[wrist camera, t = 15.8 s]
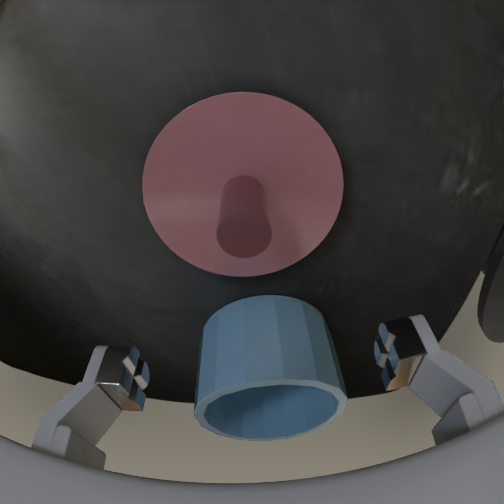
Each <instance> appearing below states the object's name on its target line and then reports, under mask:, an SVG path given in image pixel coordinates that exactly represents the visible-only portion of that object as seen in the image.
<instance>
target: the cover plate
mask: <svg viewBox="0 0 504 504" xmlns="http://www.w3.org/2000/svg"><path fill="white" fill-rule="evenodd" d="M343 186H344V183H343V171H342V166H341V161H340V158H339V155H338V153H337V150H336V148H335V146H334V144H333V142H332V140H331V138H330V137H329V135H328V134H327V133H326V131H325V130H324V129H323V127H322V126H321V125H320V124H319V123H318V122H317V121H316V120H315V119H314V118H313V117H312V116H311V115H309V114H308V113H307V112H305V111H304V110H302V109H301V108H300V107H298V106H296V105H294V104H292V103H290V102H289V101H287V100H284V99H281V98H279V97H276V96H273V95H269V94H264V93H259V92H247V91H239V92H227V93H223V94H218V95H214V96H211V97H208V98H205V99H203V100H200V101H198V102H196V103H194V104H193V105H191V106H189V107H187V108H186V109H184V110H183V111H182V112H180V113H179V114H178V115H176V116H175V117H174V118H173V119H172V120H171V121H170V122H169V123H168V124H167V125H166V126H165V127H164V128H163V129H162V131H161V132H160V133H159V135H158V136H157V137H156V139H155V141H154V143H153V145H152V146H151V148H150V150H149V153H148V156H147V159H146V161H145V166H144V171H143V180H142V191H143V200H144V204H145V209H146V212H147V215H148V217H149V220H150V222H151V224H152V226H153V228H154V229H155V231H156V233H157V234H158V235H159V237H160V238H161V240H162V241H163V242H164V243H165V244H166V245H167V246H168V247H169V248H170V249H171V250H172V251H173V252H174V253H175V254H177V255H178V256H179V257H181V258H182V259H184V260H185V261H187V262H188V263H190V264H192V265H194V266H196V267H198V268H200V269H203V270H206V271H208V272H212V273H216V274H220V275H226V276H236V277H248V276H258V275H264V274H269V273H272V272H276V271H279V270H281V269H284V268H286V267H288V266H290V265H292V264H294V263H296V262H298V261H299V260H301V259H302V258H304V257H305V256H307V255H308V254H309V253H310V252H311V251H313V250H314V249H315V248H316V247H317V246H318V245H319V244H320V243H321V242H322V240H323V239H324V238H325V237H326V235H327V234H328V232H329V231H330V230H331V228H332V226H333V224H334V222H335V220H336V218H337V215H338V213H339V210H340V206H341V202H342V197H343Z"/></svg>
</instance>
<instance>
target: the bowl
mask: <svg viewBox="0 0 504 504" xmlns="http://www.w3.org/2000/svg"><path fill="white" fill-rule="evenodd" d="M347 401H348V397H347V393H346V389H345V385H344V381H343V377H342V373H341V369H340V365H339V362H338V358H337V354H336V351H335V347H334V343H333V340H332V336H331V333H330V329H329V327H328V325H327V323H326V320H325V318H324V317H323V315H322V314H321V313H320V312H319V311H318V310H317V309H316V308H315V307H313V306H312V305H310V304H309V303H307V302H304V301H302V300H299V299H296V298H292V297H288V296H281V295H260V296H253V297H248V298H244V299H240V300H238V301H235V302H232V303H230V304H228V305H226V306H224V307H223V308H221V309H219V310H218V311H217V312H216V313H214V314H213V315H212V316H211V317H210V318H209V320H208V321H207V322H206V324H205V326H204V328H203V331H202V338H201V342H200V349H199V360H198V370H197V382H196V393H195V406H194V416H195V417H196V419H197V420H198V422H199V423H200V424H201V426H202V427H204V428H206V429H208V430H210V431H212V432H214V433H216V434H218V435H221V436H225V437H229V438H234V439H238V440H249V441H272V440H281V439H288V438H293V437H296V436H300V435H304V434H308V433H311V432H313V431H316V430H318V429H320V428H322V427H324V426H326V425H328V424H330V423H332V422H333V421H334V420H335V419H336V418H337V417H339V416H340V415H341V414H342V413H343V412H344V411H345V408H346V404H347Z"/></svg>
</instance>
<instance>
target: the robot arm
mask: <svg viewBox="0 0 504 504" xmlns="http://www.w3.org/2000/svg"><path fill="white" fill-rule="evenodd" d="M378 331H379V334H380V335H379V336H378V337H377V338H376V340H375V344H374V353H375V358H376V361H377V364H378V365H379V366H380V367H382V368H383V371H382V374H381V376H382V379H383V382H384V385H385V389H386V391H388V390H393V389H397V388H401V387H405V386H408V387H409V388H410V389H411V390H412V391H413V392H414V393H415V394H416V395H417V396H419V397H420V398H421V399H422V400H423V401H424V402H425V403H426V404H427V405H428V406H429V407H430V408H431V409H433V410H434V411H435V412H436V413H437V414H438V415H439V416H440V417H441V418H442V419H441V420H440V421H439V422H438V423H437V424H436V425H435V426H434V428H433V430H432V434H433V437H434V441H435V444H436V446H434V447H431V448H428V449H426V450H423V451H420V452H417V453H414V454H411V455H408V456H405V457H402V458H398V459H395V460H392V461H388V462H385V463H381V464H377V465H374V466H370V467H365V468H361V469H356V470H352V471H348V472H342V473H337V474H331V475H326V476H320V477H313V478H306V479H298V480H288V481H277V482H262V483H231V484H230V483H229V484H228V483H195V482H181V481H169V480H160V479H153V478H145V477H139V476H132V475H127V474H121V473H117V472H112V471H107V470H104V465H105V459H106V455H105V453H104V452H103V451H101V450H100V449H98V448H97V447H95V445H96V444H97V443H98V442H99V440H100V439H101V438H102V436H103V435H104V434H105V433H106V431H107V430H108V429H109V428H110V426H111V425H112V424H113V423H114V421H115V420H116V419H117V417H118V416H119V415H120V414H121V412H122V410H129V411H143V406H144V401H145V397H146V395H145V393H144V391H143V390H144V388H145V387H146V386H147V385H148V382H149V369H148V366H147V364H146V362H145V360H143V359H141V358H140V357H139V354H140V352H139V351H138V349H137V348H136V347H121V346H97V347H96V348H95V349H94V351H93V354H92V357H91V359H90V362H89V365H88V367H87V370H86V373H85V376H84V379H83V381H82V382H79V383H78V384H76V385H75V386H74V387H73V388H72V389H71V390H70V391H69V392H68V393H67V394H66V395H65V396H64V397H63V398H61V399H60V401H58V402H57V403H56V404H55V405H54V406H53V407H52V408H51V409H50V410H49V411H48V412H47V413H46V414H45V415H44V416H42V418H40V421H39V424H38V427H37V430H36V434H35V438H34V440H33V444H32V447H31V448H30V447H27V446H24V445H22V444H20V443H17V442H15V441H13V440H10V439H8V438H6V437H4V436H1V435H0V504H504V405H503V402H502V400H501V398H500V396H499V393H498V391H497V389H496V387H495V385H494V383H493V381H491V380H490V379H488V378H487V377H485V376H484V375H482V374H481V373H479V372H478V371H477V370H475V369H474V368H472V367H471V366H469V365H468V364H466V363H465V362H463V361H461V360H460V359H459V358H457V357H456V356H454V355H453V354H451V353H450V352H448V351H447V350H441V348H440V346H439V344H438V342H437V340H436V338H435V336H434V334H433V332H432V331H431V329H430V327H429V325H428V323H427V321H426V319H425V318H424V316H423V315H416V316H412V317H408V318H407V317H406V318H401V319H397V320H392V321H387V322H382V323H381V324H380V325H379V329H378Z"/></svg>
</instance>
